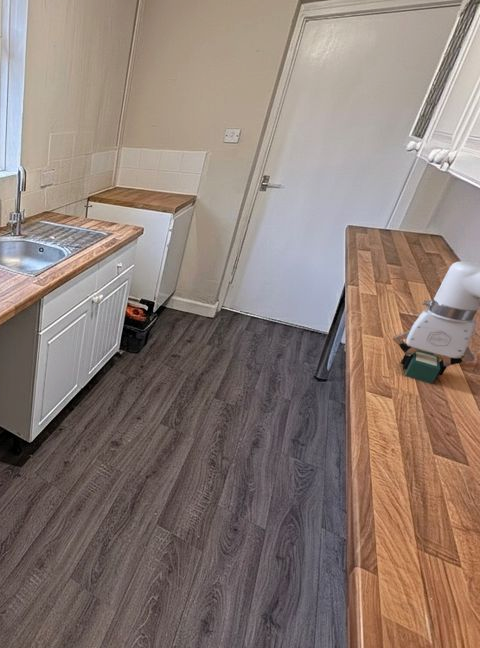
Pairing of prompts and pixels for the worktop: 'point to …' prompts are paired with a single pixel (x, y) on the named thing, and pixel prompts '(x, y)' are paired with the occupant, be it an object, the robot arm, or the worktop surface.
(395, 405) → the worktop surface
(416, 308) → the worktop surface
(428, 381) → the tea packet
